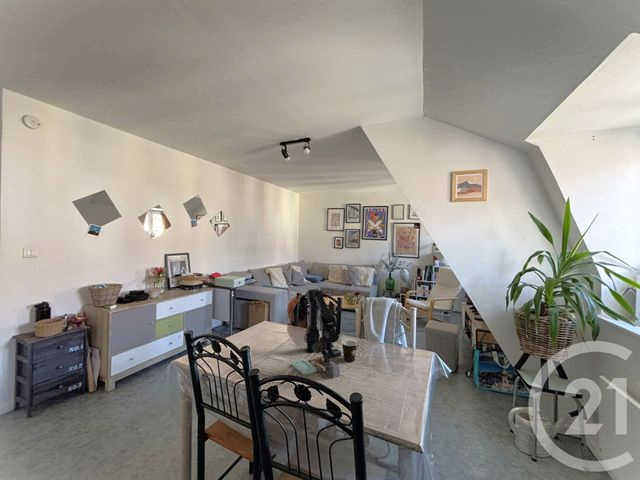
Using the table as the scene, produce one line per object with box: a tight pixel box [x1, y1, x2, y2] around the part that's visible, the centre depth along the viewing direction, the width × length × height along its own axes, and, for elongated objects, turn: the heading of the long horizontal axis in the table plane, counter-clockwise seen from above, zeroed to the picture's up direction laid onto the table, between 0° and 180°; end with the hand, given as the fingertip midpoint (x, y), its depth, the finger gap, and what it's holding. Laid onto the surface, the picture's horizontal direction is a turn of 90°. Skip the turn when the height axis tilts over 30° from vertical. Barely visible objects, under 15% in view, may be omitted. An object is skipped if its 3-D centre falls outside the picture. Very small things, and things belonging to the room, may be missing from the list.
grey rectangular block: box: [324, 360, 341, 379], centre depth 147 cm, size 8×4×5 cm, turn 30°
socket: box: [307, 356, 325, 373], centre depth 157 cm, size 12×9×2 cm
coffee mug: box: [341, 339, 360, 363], centre depth 165 cm, size 12×9×10 cm
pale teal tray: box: [291, 358, 318, 377], centre depth 153 cm, size 14×8×2 cm, turn 34°
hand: (326, 364), depth 152 cm, fingers closed
